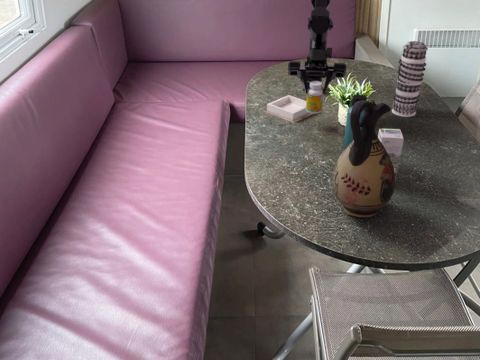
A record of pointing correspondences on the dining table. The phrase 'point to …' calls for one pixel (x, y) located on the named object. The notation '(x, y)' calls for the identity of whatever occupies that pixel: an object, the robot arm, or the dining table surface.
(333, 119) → the dining table surface
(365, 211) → the ceramic jug
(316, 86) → the supplement bottle
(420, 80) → the white banded cylinder
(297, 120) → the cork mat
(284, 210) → the dining table surface
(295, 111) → the dish
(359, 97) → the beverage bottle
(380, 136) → the syrup box
